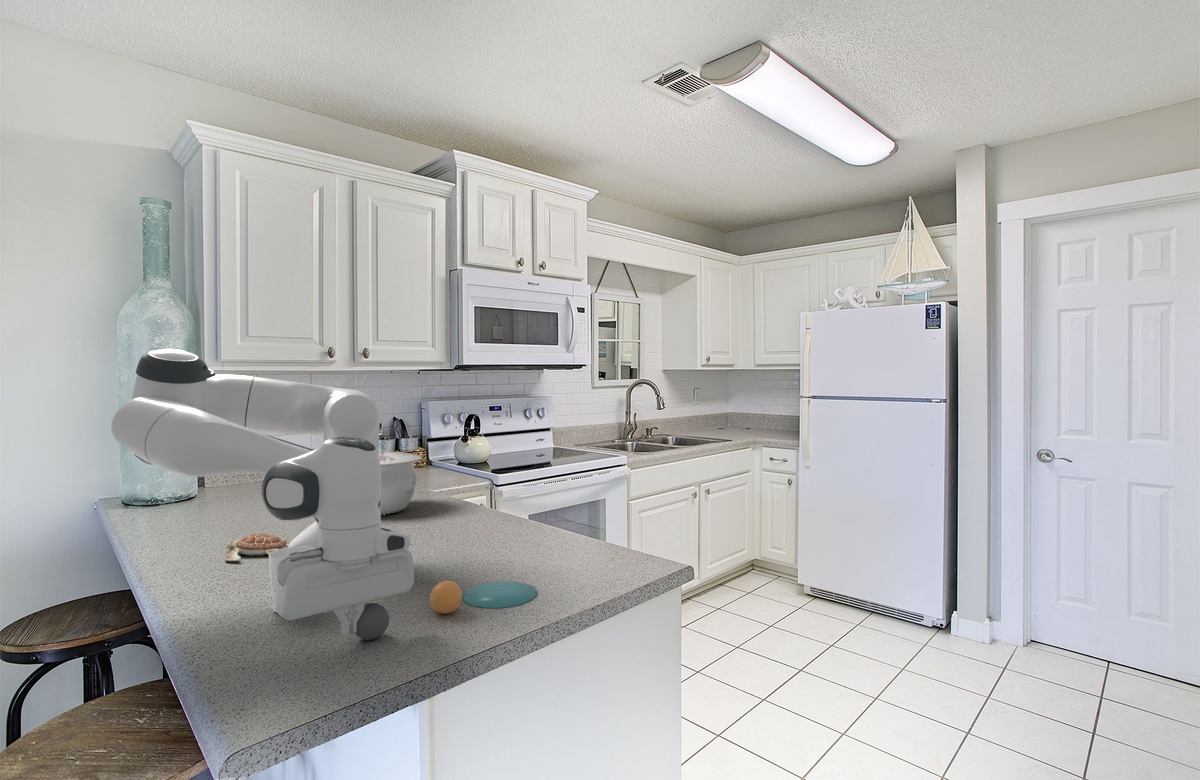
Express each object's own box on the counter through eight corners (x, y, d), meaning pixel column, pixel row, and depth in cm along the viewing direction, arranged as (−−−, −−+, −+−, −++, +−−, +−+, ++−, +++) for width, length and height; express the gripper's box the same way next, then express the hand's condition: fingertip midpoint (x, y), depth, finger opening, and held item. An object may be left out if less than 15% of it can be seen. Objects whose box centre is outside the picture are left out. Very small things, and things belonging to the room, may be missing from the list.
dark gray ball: (346, 645, 92) (350, 608, 93) (354, 633, 98) (357, 598, 98) (384, 645, 93) (387, 608, 94) (389, 633, 99) (393, 599, 99)
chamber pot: (405, 522, 176) (405, 451, 175) (312, 522, 176) (311, 451, 176) (433, 502, 204) (433, 441, 203) (352, 503, 204) (352, 441, 204)
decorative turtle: (252, 543, 155) (252, 524, 155) (313, 545, 153) (313, 525, 153) (198, 565, 137) (198, 543, 137) (267, 567, 135) (266, 544, 135)
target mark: (493, 614, 105) (493, 613, 105) (447, 595, 115) (447, 594, 115) (552, 593, 116) (552, 592, 116) (505, 577, 125) (505, 576, 125)
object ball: (427, 619, 103) (427, 587, 103) (432, 607, 109) (431, 577, 108) (460, 617, 104) (460, 585, 104) (463, 606, 109) (463, 575, 109)
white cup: (281, 600, 113) (280, 546, 113) (324, 598, 113) (324, 545, 113) (261, 616, 105) (260, 559, 105) (308, 614, 106) (307, 557, 105)
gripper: (286, 559, 83) (284, 660, 83) (419, 535, 98) (418, 621, 98) (269, 551, 88) (268, 647, 87) (400, 529, 103) (399, 611, 102)
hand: (348, 633), depth 93 cm, fingers closed
